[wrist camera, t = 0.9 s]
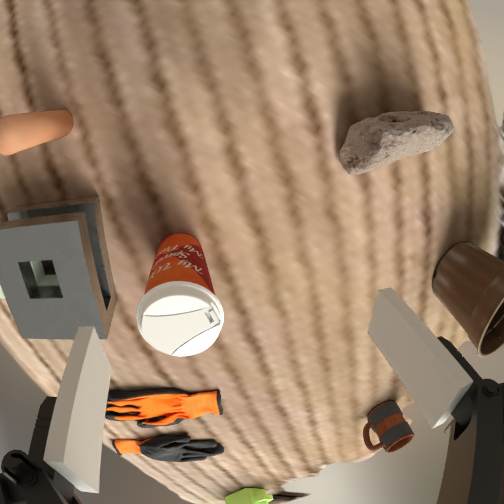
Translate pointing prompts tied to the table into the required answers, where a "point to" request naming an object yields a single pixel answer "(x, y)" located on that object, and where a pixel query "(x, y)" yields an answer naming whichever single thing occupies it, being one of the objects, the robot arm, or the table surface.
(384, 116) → the pumice stone
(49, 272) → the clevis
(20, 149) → the pin
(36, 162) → the table surface
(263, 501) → the gearbox
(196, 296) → the paper cup
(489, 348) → the plant pot
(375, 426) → the mug
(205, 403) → the pair of gloves
